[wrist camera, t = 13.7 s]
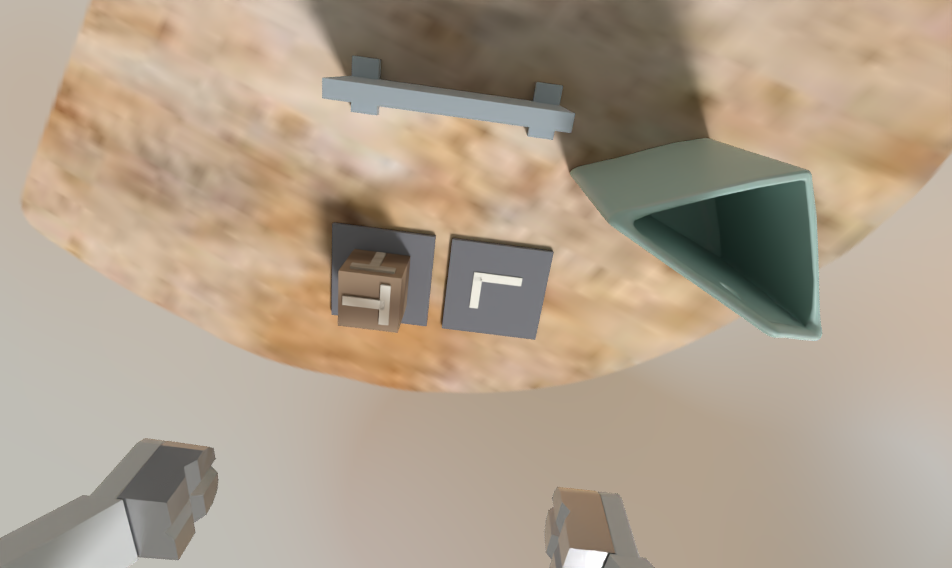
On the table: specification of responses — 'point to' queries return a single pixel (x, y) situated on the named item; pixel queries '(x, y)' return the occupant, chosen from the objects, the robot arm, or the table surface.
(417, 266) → the pad
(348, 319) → the cube
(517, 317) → the pad
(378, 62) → the screen
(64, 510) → the robot arm
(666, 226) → the planter
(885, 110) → the table surface
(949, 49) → the table surface
